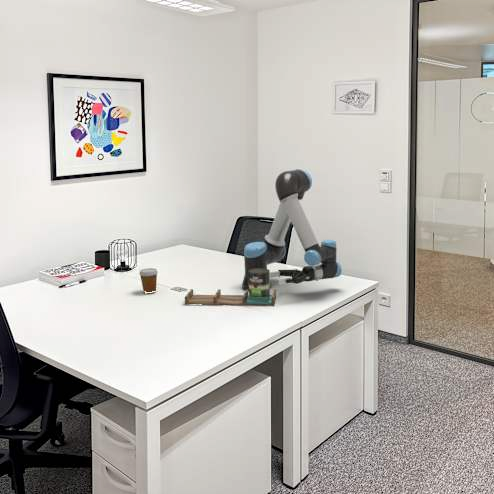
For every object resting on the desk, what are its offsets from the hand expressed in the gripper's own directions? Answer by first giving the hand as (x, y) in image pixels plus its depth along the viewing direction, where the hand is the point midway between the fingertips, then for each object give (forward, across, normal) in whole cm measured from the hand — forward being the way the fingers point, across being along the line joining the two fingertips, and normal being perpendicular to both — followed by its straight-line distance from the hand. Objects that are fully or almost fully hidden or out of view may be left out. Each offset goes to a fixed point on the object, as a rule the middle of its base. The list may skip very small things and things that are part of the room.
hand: (272, 278), depth 289 cm
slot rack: (+19, +7, -11) cm, 23 cm away
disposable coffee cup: (+52, +42, -11) cm, 68 cm away
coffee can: (+7, 0, -10) cm, 12 cm away
